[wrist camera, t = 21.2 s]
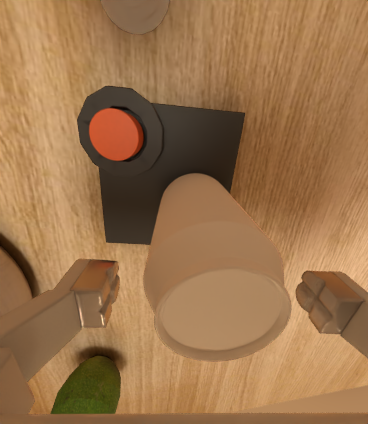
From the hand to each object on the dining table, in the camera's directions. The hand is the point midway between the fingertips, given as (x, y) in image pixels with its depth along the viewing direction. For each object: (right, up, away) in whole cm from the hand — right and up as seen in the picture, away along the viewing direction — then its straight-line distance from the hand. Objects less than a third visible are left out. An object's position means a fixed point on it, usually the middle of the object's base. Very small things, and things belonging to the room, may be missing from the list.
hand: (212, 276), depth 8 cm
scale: (-3, +6, +10) cm, 12 cm away
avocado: (-14, -21, +21) cm, 33 cm away
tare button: (-6, +9, +6) cm, 12 cm away
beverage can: (0, +4, +10) cm, 10 cm away
